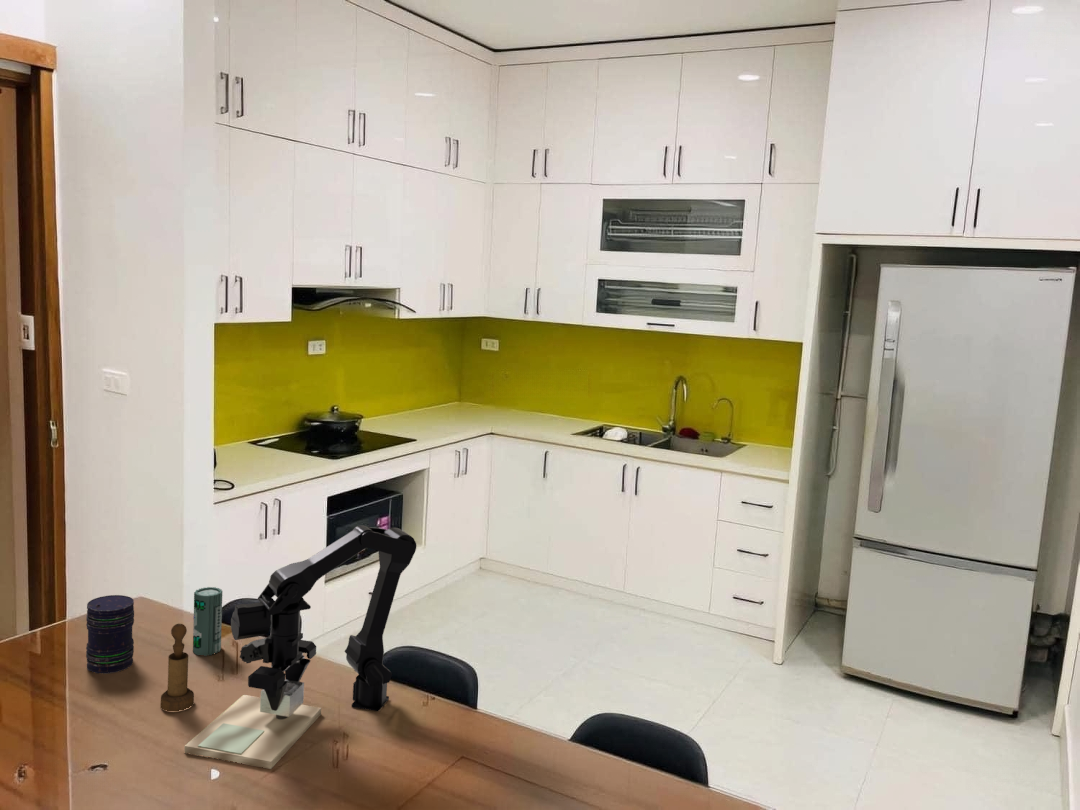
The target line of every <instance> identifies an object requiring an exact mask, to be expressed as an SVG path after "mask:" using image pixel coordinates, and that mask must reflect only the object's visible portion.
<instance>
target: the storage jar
mask: <svg viewBox="0 0 1080 810" xmlns="http://www.w3.org/2000/svg"><path fill="white" fill-rule="evenodd" d="M134 604H135V600H134V599H133V597H131V596H128V595H119V594H113V595H104V596H99V597H95V598H93V599H91V600H89V601H88V602H87V603H86V609H87V610H86V616H85V617H86V625H85V626H86V630H87V643H86V648H85V649H86V652H85V654H86V656H85V657H86V662H87V663H86V669H87V671H89V672H90V671H92V672H91V673H93V672H95V674H99V673H101V674H102V673H103V675H105V674H107V675H108V674H115V673H119V672H121V670H122V671H125V670H127V669H129V668H130V667H131V666H132V665H133V664H132V663H134V658H133V657H134V650H135V647H134V645H135V642H134V638H133V626H134V625H135V624H134V623H135V619H134V618H135V610H134V609H135V607H134ZM128 667H129V668H128ZM124 669H125V670H124ZM118 671H119V672H118ZM101 674H100V675H101Z"/></svg>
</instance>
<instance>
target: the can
mask: <svg viewBox="0 0 1080 810" xmlns="http://www.w3.org/2000/svg"><path fill="white" fill-rule="evenodd" d="M222 616H223V590H222V589H221V588H219V587H217V586H214V587H213V586H212V587H211V586H207V587H201V588H198V589H196V590H195V591H194V592H193V633H192V635H193V636H192V652H193V654H195V655H196V656H199V655H204V656H205V657H208V656H213V655H212V654H214V653H216V654H217V653H218V652H219V653H220V652H221V649H222V625H223V624H222V622H223V620H222V619H223V617H222ZM207 655H208V656H207ZM214 655H215V654H214ZM204 656H203V657H204Z"/></svg>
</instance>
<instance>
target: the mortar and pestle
mask: <svg viewBox="0 0 1080 810" xmlns="http://www.w3.org/2000/svg"><path fill="white" fill-rule="evenodd" d="M187 632H188V631H187V626H185V624H183V623H176V624H174V625H173V626H172V627H171V630H170V634H171V636H172V637H173V639H174V644H173V645H172V650H173V652H172V653H170V654H169V655H168V661H167V663H168V666H167V667H168V668H167V669H168V670H167V675H168V676H167V690H165V691H164V692H163V693H162V694H161V695H160V709H161V708H162V709H164V710H167V711H179V710H184V709H186V708H189V707H190V706H192V705H193V706H194V704H195V692H194V691H193V690H192V689H190V688H188V684H189V683H188V681H189V680H188V678H189V674H188V673H189V654H188V653H187V652H184V649H185V643H184V642H183V639H185V638H184V637H185V636H186V635H187ZM193 703H194V704H193ZM193 706H192V707H193ZM162 709H161V710H162ZM189 709H190V708H189ZM164 710H163V711H164Z"/></svg>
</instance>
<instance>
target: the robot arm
mask: <svg viewBox="0 0 1080 810" xmlns="http://www.w3.org/2000/svg"><path fill="white" fill-rule="evenodd" d="M366 549H371V550H375V551H377V552H378V560H379V569H378V573H377V577H376V579H375V584H374V586H373V590H372V593H371V596H370V600H369V603H368V606H367V609H366V610H367V611H366V615H365V617H364V620H363V623H362V628H361V630H360V631H359V632H358V633H357V634H356V635H353V634H350V635H349V638H348V644H347V647H346V649H345V650H344V653H345V655H346V661H347V663H348V664H349V666H350V667H351V668H352V669H353V670H354V672H355V673H357V676H355V681H354V682H353V683H352V684H353V687H352V700H353V702H352V703H351V708H354V709H355V708H356V709H362V710H366V711H374V712H380V711H381V710H382V709H383V708H384V706H385V705H386V703H387V702H388V701H389V699H390V696H388V695H387V690H388V684H389V683H390V681H391V679H392V677H393V672H391V670H390V669H388V668H387V666H385V665H384V664H383V661H384V655H385V649H384V647H385V646H384V637H383V636H384V632H385V629H386V625H387V622H388V619H389V615H390V611H391V608H392V605H393V602H394V598H395V594H396V592H397V587H398V585H399V581H400V577H401V575H402V574H403V572H404V571H405V570H406V569H407V567H408V566H410V564H411V562H412V560H413V558H414V555H415V553H416V551H417V542H416V541H415V538H414V537H412V536H411V535H410V534H409V533H407V532H405V531H404V530H402V529H401V528H398V527H390V528H388V529H385V528H381V527H374V526H373V527H371V526H370V527H369V526H367V525H363V524H362V525H357V526H355V527H354V528H353V529H352V530H351V531H350V532H348V533H346V534H345V535H344V536H342V537H340V538H339V539H337V540H335V541H334V542H332V543H331V544H328V546H326V547H325V548H323V549H322V550H320V551H318V552H317V553H315V554H314V555H312V556H311V557H308V558H307V559H305V560H302V561H298V562H297V561H296V562H293V563H289V564H287V565H285V566H283V567H280V568H278V569H277V570H274V572H273V573H271V575H270V577H269V581H268V584H267V585H266V587H265V588H264V589H263V590H262V592H261V593H260V594H259V595H258V596H257V600H258V602H253V603H247V604H246V603H244V604H243V603H239V604H235V605H234V611H233V612H232V616H231V617H230V628H231V634H232V638H233V639H234V641H238V640H239V641H240V640H244V639H251V638H252V639H253V638H257V637H263V638H260V639H259V638H258V639H256V640H252V641H249V643H247V644H245V645H243V646H241V649H240V650H239V652H240V654H239V658H240V660H241V661H242V662H243V663H246V664H251V663H252V662H256V661H261V660H262V664H263V663H264V664H269V663H270V666H269V667H268V666H264V665H260V666H259V667H258V668H257V669H256V670H254V671H253V672H252V673H251V674H250V675H248V677H247V686H248V688H251V689H259V690H263V689H264V690H265V692H266V695H267V698H268V701H269V703H270V706H271V709H272V710H274V711H276V710H277V709H278V707H279V705H280V702H281V699H282V697H283V694H284V691H285V689H286V686H287V683H288V681H285V679H286V680H292V681H298V682H301V679H302V678H303V675H304V673H305V671H306V670H307V667H308V666H309V664H310V663H311V659H313V658H314V657H315V656H316V655H317V645H316V643H315V642H314V641H311V640H304V639H303V638H304V633H303V632H300V625H301V623H300V622H301V621H300V620H301V619H300V618H301V611H305V610H310V609H311V605H310V604H309V603H308V602H307V601H306V600H305V599H304V598H303V597H304V596H306V594H308V593H309V592H311V590H313V589H312V588H313V587H314V586H315V584H316V582H317V581H319V580H320V579H321V578H322V577H324V576H325V575H327V574H328V573H330V572H331V571H333V570H335V569H336V568H338V567H339V566H341V565H342V564H344V563H346V562H348V560H350V559H352V558H353V557H354V556H356V555H358V554H359V553H362V551H364V550H366ZM274 597H276V599H274ZM269 632H270V635H268V636H267V637H264V636H265V635H267V634H269ZM304 654H306V657H307V658H305V655H304Z"/></svg>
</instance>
